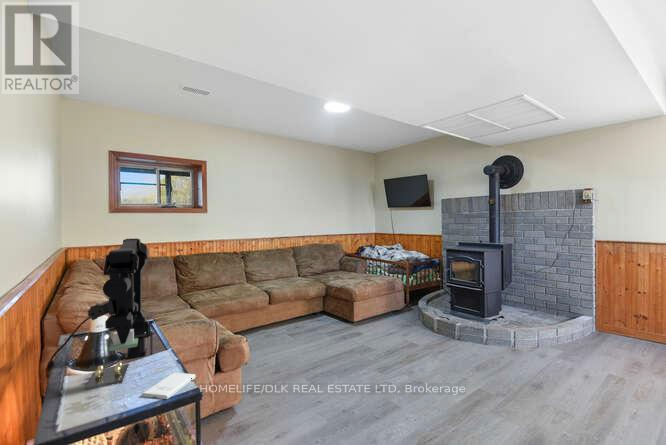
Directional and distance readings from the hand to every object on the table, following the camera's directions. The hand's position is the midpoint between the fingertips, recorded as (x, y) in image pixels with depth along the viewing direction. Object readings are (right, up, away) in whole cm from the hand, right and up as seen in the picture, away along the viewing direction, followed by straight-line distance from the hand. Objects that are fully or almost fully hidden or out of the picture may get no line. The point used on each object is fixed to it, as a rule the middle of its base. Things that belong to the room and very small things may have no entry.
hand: (123, 342), depth 98 cm
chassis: (-7, -12, +3) cm, 14 cm away
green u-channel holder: (0, -1, 0) cm, 1 cm away
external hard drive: (+16, -12, -4) cm, 21 cm away
